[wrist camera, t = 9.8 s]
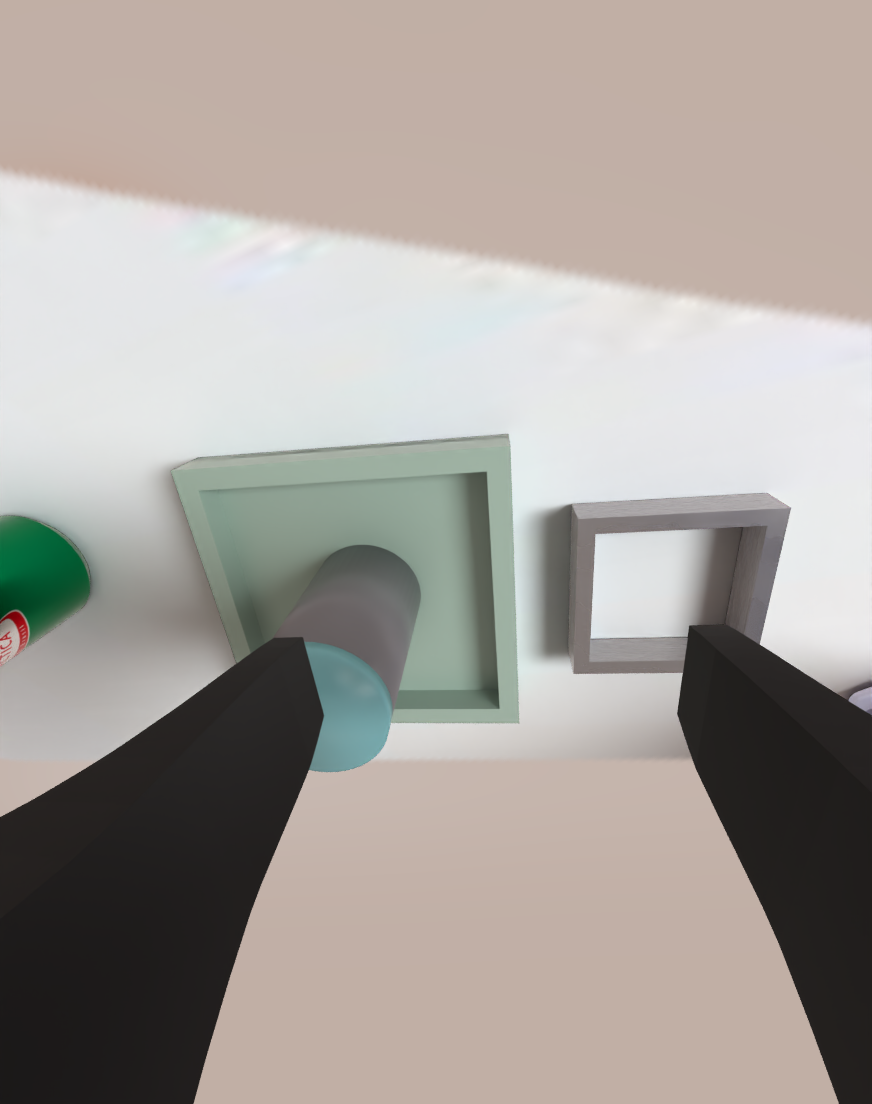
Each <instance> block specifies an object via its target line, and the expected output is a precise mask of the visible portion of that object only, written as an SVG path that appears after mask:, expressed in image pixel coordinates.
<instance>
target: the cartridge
mask: <svg viewBox="0 0 872 1104" xmlns="http://www.w3.org/2000/svg"><path fill="white" fill-rule="evenodd" d="M420 602H421V590H420V585H419V582H418V580H417V577H416V575H415V574H414V572H413V570H412V569H411V568H410V566H409V565H408V564H407V563H406V562H405V561H404V560H403V559H401V558H400V557H399V556H397V555H396V554H394V553H392V552H390V551H388V550H386V549H384V548H381V547H377V546H372V545H353V546H349V547H345V548H343V549H340V550H338V551H336V552H335V553H333V554H332V555H331V556H329V557H328V558H327V560H326V561H325V562H324V563H323V565H322V566H321V568H320V569H319V571H318V572H317V574H316V575H315V577H314V578H313V579H312V581H311V582H310V584H309V585H308V587H307V588H306V590H305V591H304V593H303V594H302V596H301V597H300V598H299V600H298V601H297V603H296V604H295V606H294V607H293V609H292V610H291V612H290V613H289V615H288V616H287V618H286V619H285V620H284V622H283V623H282V625H281V626H280V628H279V629H278V631H277V632H276V634H275V635H274V637H273V638H284V637H303V639H304V643H305V647H306V650H307V654H308V658H309V661H310V665H311V669H312V672H313V676H314V680H315V683H316V687H317V691H318V694H319V698H320V702H321V705H322V709H323V713H324V719H323V722H322V726H321V730H320V734H319V738H318V742H317V745H316V749H315V752H314V756H313V759H312V763H311V766H310V768H309V770H312V771H319V772H339V771H346V770H350V769H354V768H356V767H359V766H361V765H363V764H365V763H367V762H369V761H370V760H371V759H373V758H374V757H375V756H376V755H377V754H378V753H379V752H380V751H381V749H382V748H383V746H384V744H385V742H386V740H387V736H388V732H389V728H390V724H391V720H392V716H393V712H394V708H395V704H396V700H397V696H398V692H399V688H400V684H401V679H402V675H403V671H404V667H405V663H406V659H407V655H408V651H409V647H410V643H411V639H412V635H413V631H414V627H415V623H416V619H417V614H418V610H419V606H420ZM273 638H272V639H273Z"/></svg>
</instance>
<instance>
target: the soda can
mask: <svg viewBox="0 0 872 1104" xmlns="http://www.w3.org/2000/svg"><path fill="white" fill-rule="evenodd" d="M90 582H91V581H90V572H89V568H88V565H87V563H86V561H85V558H84V557H83V555H82V553H81V552H80V551H79V549H78V548H77V547H76V545H75V544H74V543H73V542H72V541H71V540H70V539H69V538H67V537H66V536H65V535H64V534H62V533H61V532H59V531H58V530H56V529H55V528H53V527H51V526H49V525H46V524H44V523H41V522H39V521H36V520H32V519H28V518H24V517H20V516H1V517H0V667H1V666H2V665H4V664H5V663H6V662H8V661H9V660H11V659H12V658H13V657H15V656H16V655H18V654H19V653H20V652H22V651H23V650H25V649H26V648H27V647H29V646H30V645H32V644H33V643H35V642H36V641H37V640H39V639H40V638H42V637H43V636H44V635H46V634H47V633H49V632H50V631H51V630H53V629H54V628H56V627H57V626H58V625H60V624H61V623H63V622H64V621H66V620H67V619H68V618H70V617H71V616H73V615H74V614H75V613H77V612H78V611H80V610H81V609H82V608H83V607H84V606H85V604H86V602H87V600H88V597H89V594H90Z"/></svg>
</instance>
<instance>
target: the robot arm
mask: <svg viewBox="0 0 872 1104" xmlns="http://www.w3.org/2000/svg"><path fill="white" fill-rule="evenodd" d="M677 714H678V717H679V721H680V724H681V727H682V730H683V733H684V736H685V739H686V742H687V745H688V748H689V751H690V754H691V756H692V759H693V762H694V765H695V768H696V770H697V772H698V774H699V776H700V778H701V781H702V783H703V785H704V787H705V789H706V791H707V793H708V795H709V797H710V799H711V802H712V803H713V806H714V808H715V810H716V812H717V814H718V816H719V818H720V820H721V822H722V824H723V826H724V829H725V831H726V832H727V835H728V837H729V839H730V841H731V843H732V845H733V847H734V849H735V851H736V853H737V855H738V857H739V859H740V861H741V863H742V866H743V868H744V870H745V872H746V874H747V876H748V878H749V880H750V882H751V884H752V886H753V888H754V890H755V892H756V894H757V896H758V898H759V901H760V903H761V905H762V906H763V909H764V911H765V913H766V916H767V918H768V920H769V922H770V925H771V927H772V929H773V931H774V934H775V936H776V938H777V940H778V943H779V945H780V948H781V950H782V953H783V955H784V958H785V961H786V963H787V966H788V968H789V971H790V974H791V976H792V979H793V981H794V984H795V987H796V989H797V992H798V994H799V997H800V1000H801V1002H802V1005H803V1007H804V1010H805V1013H806V1015H807V1018H808V1020H809V1023H810V1026H811V1028H812V1031H813V1034H814V1036H815V1039H816V1042H817V1045H818V1047H819V1050H820V1053H821V1055H822V1058H823V1061H824V1064H825V1066H826V1069H827V1072H828V1075H829V1077H830V1080H831V1083H832V1085H833V1088H834V1091H835V1094H836V1096H837V1099H838V1102H839V1104H872V687H869V688H866V689H864V690H861V691H858V692H856V693H854V694H853V695H852V696H851V697H850V698H849V701H848V700H846V699H844V698H843V697H841V696H840V695H838V694H836V693H835V692H833V691H832V690H830V689H828V688H827V687H825V686H824V685H822V684H820V683H819V682H817V681H816V680H814V679H813V678H811V677H809V676H808V675H806V674H805V673H803V672H802V671H800V670H798V669H797V668H795V667H794V666H792V665H791V664H789V663H788V662H786V661H784V660H783V659H781V658H780V657H778V656H777V655H775V654H774V653H772V652H771V651H769V650H767V649H766V648H764V647H763V646H761V645H760V644H758V643H756V642H755V641H753V640H752V639H750V638H749V637H747V636H745V635H744V634H742V633H740V632H739V631H737V630H735V629H734V628H732V627H730V626H728V625H693V626H689V632H688V639H687V647H686V654H685V661H684V668H683V676H682V683H681V690H680V698H679V705H678V712H677ZM323 719H324V713H323V709H322V705H321V702H320V698H319V694H318V691H317V687H316V683H315V680H314V676H313V672H312V669H311V665H310V661H309V658H308V654H307V650H306V647H305V643H304V639H303V637H284V638H273V639H271V640H270V641H268V642H267V643H265V644H263V645H262V646H260V647H259V648H258V649H256V650H255V651H253V652H252V653H251V654H249V655H248V656H246V657H245V658H244V659H242V660H241V661H240V662H238V663H237V664H235V665H234V666H233V667H231V668H230V669H229V670H227V671H226V672H225V673H223V674H222V675H221V676H219V677H218V678H217V679H215V680H214V681H212V682H211V683H210V684H208V685H207V686H206V687H204V688H203V689H202V690H200V691H199V692H198V693H196V694H195V695H193V696H192V697H191V698H189V699H188V700H187V701H185V702H184V703H183V704H181V705H180V706H178V707H177V708H176V709H174V710H173V711H171V712H170V713H168V714H167V715H165V716H164V717H162V718H161V719H160V720H158V721H157V722H155V723H154V724H152V725H151V726H149V727H148V728H146V729H145V730H144V731H142V732H141V733H139V734H138V735H136V736H135V737H133V738H132V739H130V740H129V741H128V742H126V743H125V744H123V745H122V746H120V747H119V748H117V749H116V750H114V751H113V752H111V753H109V754H108V755H106V756H105V757H103V758H102V759H100V760H98V761H97V762H95V763H94V764H92V765H90V766H89V767H87V768H86V769H84V770H82V771H81V772H79V773H77V774H76V775H74V776H72V777H71V778H69V779H67V780H66V781H64V782H62V783H60V784H59V785H57V786H55V787H54V788H52V789H50V790H49V791H47V792H45V793H44V794H42V795H40V796H38V797H37V798H35V799H33V800H31V801H30V802H28V803H26V804H24V805H22V806H20V807H18V808H17V809H15V810H13V811H11V812H9V813H7V814H5V815H3V816H2V817H0V1104H193V1103H194V1100H195V1096H196V1092H197V1089H198V1085H199V1081H200V1078H201V1074H202V1070H203V1067H204V1063H205V1059H206V1056H207V1052H208V1049H209V1046H210V1042H211V1039H212V1036H213V1032H214V1029H215V1025H216V1022H217V1019H218V1015H219V1012H220V1008H221V1005H222V1002H223V998H224V995H225V992H226V988H227V985H228V981H229V978H230V975H231V972H232V969H233V966H234V963H235V960H236V956H237V953H238V950H239V947H240V944H241V941H242V937H243V935H244V931H245V928H246V925H247V922H248V919H249V916H250V913H251V910H252V907H253V905H254V902H255V899H256V897H257V894H258V891H259V889H260V886H261V884H262V881H263V879H264V877H265V874H266V871H267V869H268V867H269V865H270V862H271V860H272V857H273V855H274V853H275V850H276V848H277V845H278V843H279V841H280V838H281V836H282V834H283V831H284V829H285V826H286V824H287V822H288V819H289V817H290V814H291V812H292V810H293V807H294V805H295V803H296V800H297V798H298V795H299V793H300V790H301V788H302V785H303V783H304V780H305V778H306V776H307V773H308V771H309V768H310V766H311V763H312V759H313V756H314V752H315V749H316V745H317V742H318V738H319V734H320V730H321V726H322V722H323Z"/></svg>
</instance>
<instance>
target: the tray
mask: <svg viewBox="0 0 872 1104" xmlns="http://www.w3.org/2000/svg"><path fill="white" fill-rule="evenodd" d="M171 473H172V476H173V479H174V482H175V485H176V488H177V491H178V494H179V497H180V500H181V503H182V505H183V508H184V511H185V514H186V517H187V520H188V523H189V526H190V529H191V532H192V535H193V538H194V541H195V543H196V546H197V549H198V552H199V555H200V558H201V561H202V564H203V567H204V570H205V573H206V576H207V579H208V581H209V584H210V587H211V590H212V593H213V596H214V599H215V602H216V605H217V608H218V611H219V614H220V617H221V620H222V622H223V625H224V628H225V631H226V634H227V637H228V640H229V643H230V646H231V649H232V652H233V655H234V658H235V660H236V663H238V662H240V661H241V660H242V659H244V658H245V657H246V656H248V655H249V654H251V653H252V652H253V651H255V650H256V649H258V648H259V647H260V646H262V645H263V644H265V643H267V642H268V641H270V640H271V639H272V638H273V637H274V635H275V634H276V632H277V631H278V629H279V628H280V626H281V625H282V623H283V622H284V620H285V619H286V618H287V616H288V615H289V613H290V612H291V610H292V609H293V607H294V606H295V604H296V603H297V601H298V600H299V598H300V597H301V596H302V594H303V593H304V591H305V590H306V588H307V587H308V585H309V584H310V582H311V581H312V579H313V578H314V577H315V575H316V574H317V572H318V571H319V569H320V568H321V566H322V565H323V563H324V562H325V561H326V560H327V558H328V557H329V556H331V555H332V554H333V553H335V552H336V551H338V550H340V549H343V548H345V547H349V546H353V545H372V546H377V547H381V548H384V549H386V550H388V551H390V552H392V553H394V554H396V555H397V556H399V557H400V558H401V559H403V560H404V561H405V562H406V563H407V564H408V565H409V566H410V568H411V569H412V570H413V572H414V574H415V575H416V577H417V580H418V582H419V585H420V590H421V602H420V606H419V610H418V614H417V619H416V623H415V627H414V631H413V635H412V639H411V643H410V647H409V651H408V655H407V659H406V663H405V667H404V671H403V675H402V679H401V684H400V688H399V692H398V696H397V700H396V704H395V708H394V712H393V716H392V720H391V723H519V702H518V671H517V639H516V608H515V577H514V545H513V514H512V483H511V452H510V441H509V434H502V435H489V436H476V437H463V438H449V439H436V440H423V441H410V442H397V443H384V444H371V445H358V446H345V447H331V448H318V449H305V450H292V451H279V452H266V453H253V454H240V455H227V456H214V457H200V458H196V459H194V460H192V461H190V462H188V463H186V464H184V465H182V466H179V467H177V468H175V469H173V470H171Z"/></svg>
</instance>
